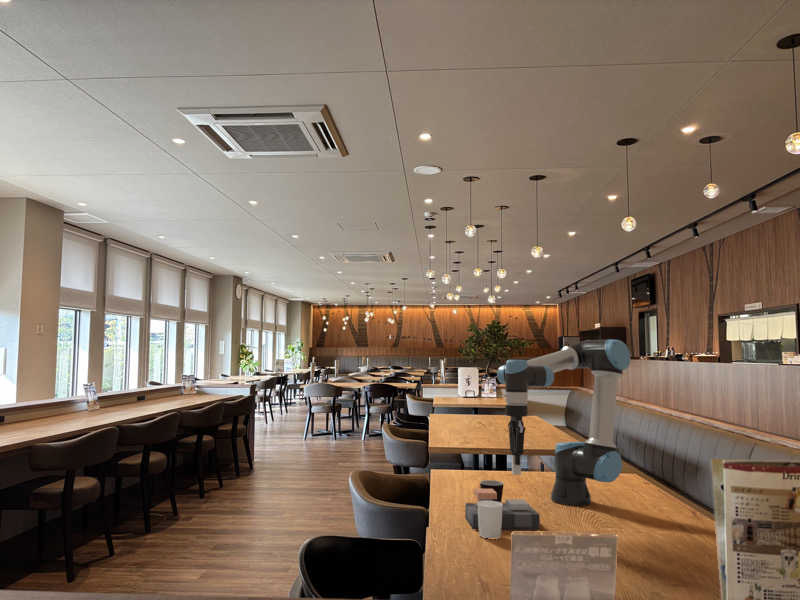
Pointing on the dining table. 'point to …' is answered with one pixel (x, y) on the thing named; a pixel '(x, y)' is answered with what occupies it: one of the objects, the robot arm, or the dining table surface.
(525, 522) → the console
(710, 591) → the dining table surface
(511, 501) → the light grey cube
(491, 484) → the coffee mug
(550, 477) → the dining table surface
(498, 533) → the white cup
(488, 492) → the salmon orange cube
